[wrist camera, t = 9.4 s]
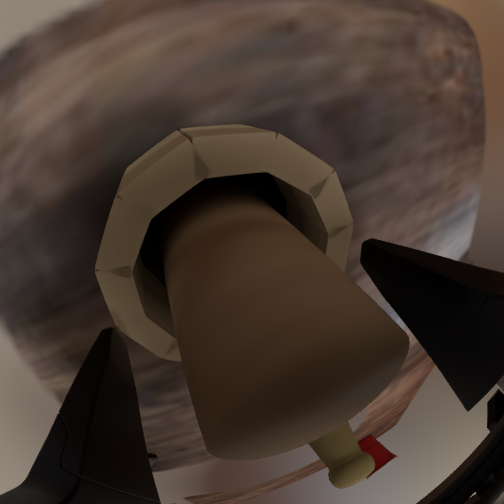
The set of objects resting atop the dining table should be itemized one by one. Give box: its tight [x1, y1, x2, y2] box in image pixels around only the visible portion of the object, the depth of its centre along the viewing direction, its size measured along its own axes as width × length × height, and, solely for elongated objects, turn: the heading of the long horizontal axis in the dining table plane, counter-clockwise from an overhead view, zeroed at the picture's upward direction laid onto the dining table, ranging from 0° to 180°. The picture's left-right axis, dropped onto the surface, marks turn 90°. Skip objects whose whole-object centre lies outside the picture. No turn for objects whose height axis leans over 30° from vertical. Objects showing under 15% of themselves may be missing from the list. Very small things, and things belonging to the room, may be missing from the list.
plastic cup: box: [358, 435, 398, 479], centre depth 54 cm, size 11×11×12 cm
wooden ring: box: [95, 124, 354, 362], centre depth 11 cm, size 9×9×4 cm
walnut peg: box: [159, 178, 410, 460], centre depth 9 cm, size 5×5×9 cm
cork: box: [308, 421, 375, 488], centre depth 24 cm, size 6×6×11 cm
